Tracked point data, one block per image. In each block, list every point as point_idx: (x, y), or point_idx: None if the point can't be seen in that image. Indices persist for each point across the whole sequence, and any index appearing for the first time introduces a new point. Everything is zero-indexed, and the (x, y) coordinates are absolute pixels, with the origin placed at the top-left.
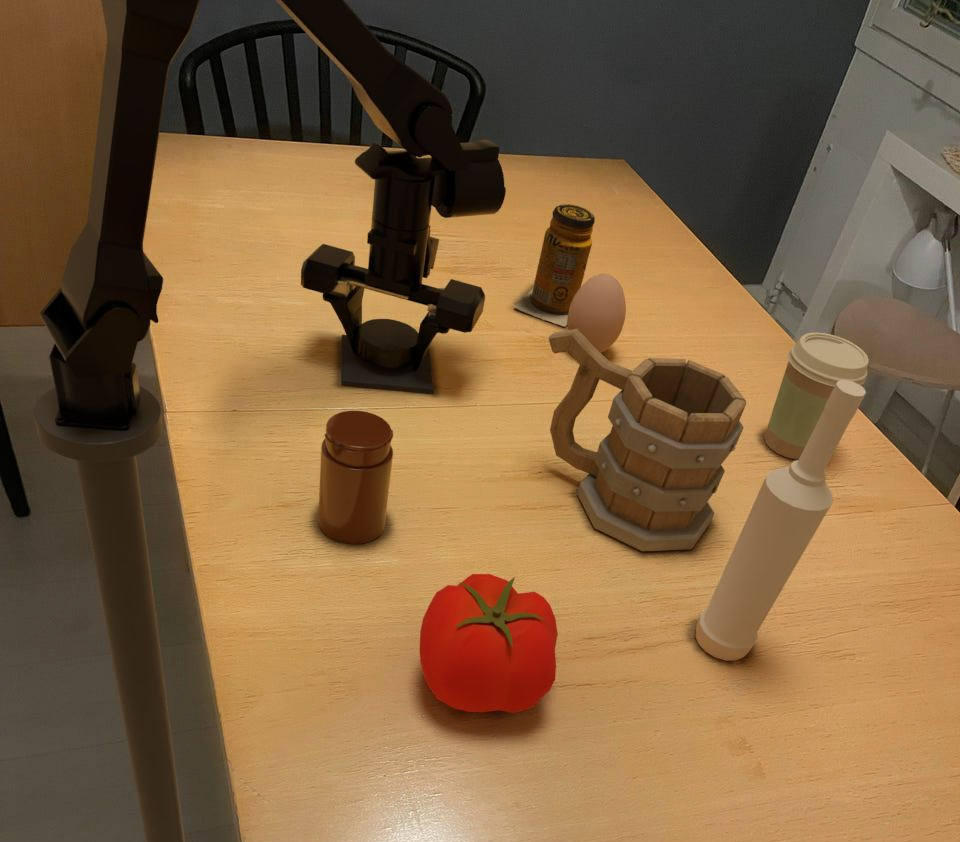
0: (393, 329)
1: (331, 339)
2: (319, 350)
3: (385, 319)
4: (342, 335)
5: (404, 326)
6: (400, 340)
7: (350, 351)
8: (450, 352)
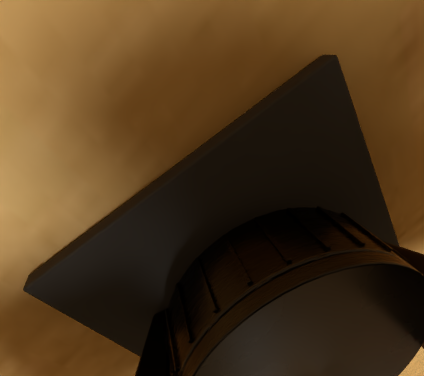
0: (320, 344)
1: (4, 300)
2: (48, 361)
3: (245, 324)
4: (31, 293)
5: (355, 289)
6: (370, 363)
7: (144, 329)
8: (408, 8)
